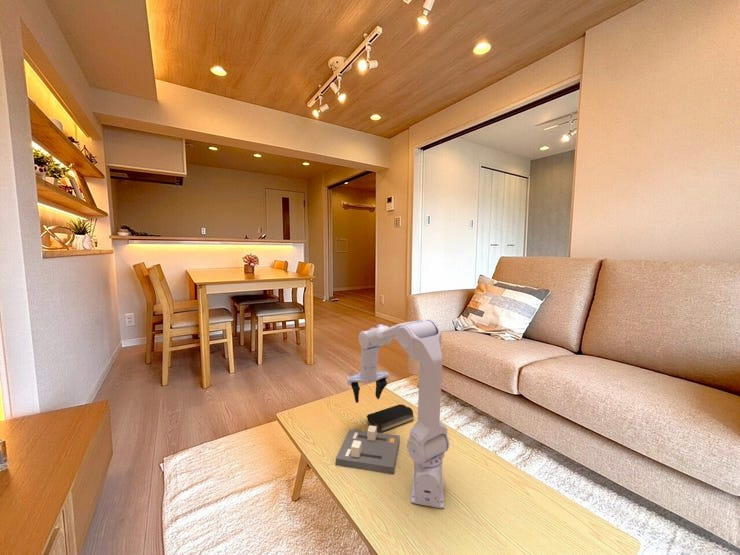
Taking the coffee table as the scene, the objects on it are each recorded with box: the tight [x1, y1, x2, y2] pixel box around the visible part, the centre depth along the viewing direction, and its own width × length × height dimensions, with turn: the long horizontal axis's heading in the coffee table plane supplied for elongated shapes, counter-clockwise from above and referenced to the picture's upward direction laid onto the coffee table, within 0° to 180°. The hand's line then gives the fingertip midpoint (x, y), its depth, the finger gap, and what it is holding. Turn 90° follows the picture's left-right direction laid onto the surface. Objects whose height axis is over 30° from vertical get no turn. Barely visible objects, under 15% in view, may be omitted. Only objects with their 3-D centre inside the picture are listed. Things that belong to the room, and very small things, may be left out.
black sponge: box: [366, 404, 415, 432], centre depth 107 cm, size 16×8×4 cm, turn 119°
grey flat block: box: [335, 428, 401, 475], centre depth 91 cm, size 14×17×2 cm
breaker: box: [351, 440, 362, 457], centre depth 88 cm, size 3×2×3 cm
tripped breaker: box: [366, 424, 378, 441], centre depth 95 cm, size 3×2×3 cm
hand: (367, 399), depth 103 cm, fingers open, 7 cm apart
